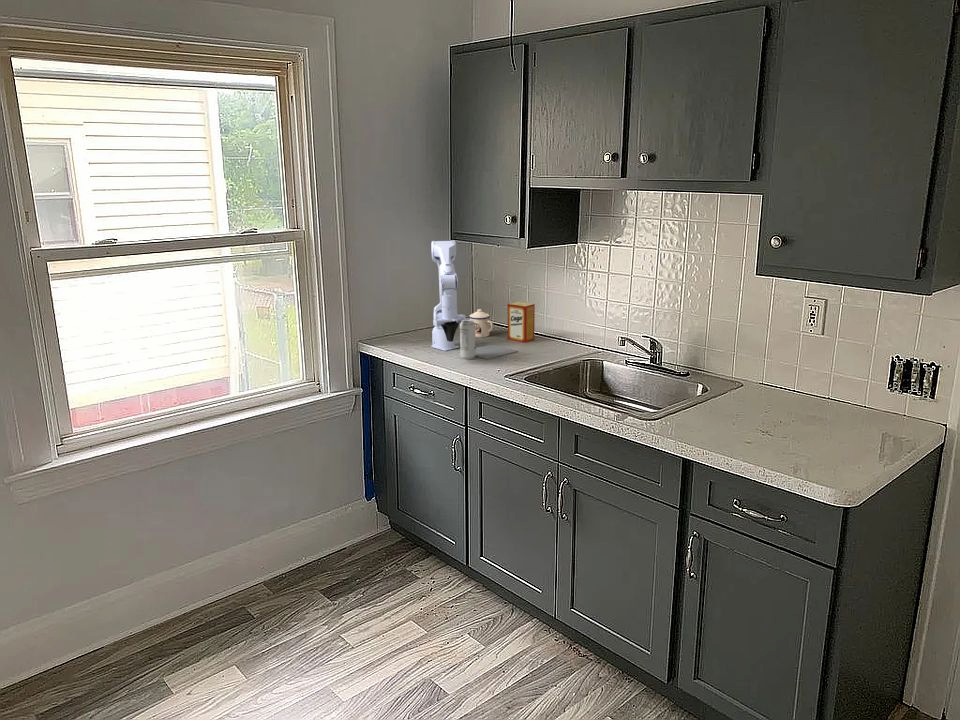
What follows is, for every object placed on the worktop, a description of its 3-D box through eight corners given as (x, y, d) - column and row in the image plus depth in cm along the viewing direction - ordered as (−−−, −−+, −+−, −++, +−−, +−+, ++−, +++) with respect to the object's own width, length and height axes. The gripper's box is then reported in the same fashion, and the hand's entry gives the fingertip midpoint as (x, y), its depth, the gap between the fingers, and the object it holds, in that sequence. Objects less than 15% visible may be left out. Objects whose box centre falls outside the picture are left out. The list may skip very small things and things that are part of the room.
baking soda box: (507, 339, 321) (507, 303, 316) (516, 336, 326) (516, 300, 321) (525, 342, 315) (525, 305, 311) (534, 339, 320) (534, 303, 315)
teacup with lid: (465, 335, 328) (464, 309, 325) (478, 331, 335) (478, 306, 332) (486, 339, 321) (486, 313, 318) (499, 335, 327) (499, 309, 324)
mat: (462, 352, 300) (462, 351, 300) (492, 345, 311) (492, 344, 311) (487, 359, 289) (487, 358, 289) (518, 351, 300) (518, 350, 300)
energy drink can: (478, 358, 291) (477, 321, 287) (465, 360, 289) (464, 323, 285) (470, 355, 296) (470, 318, 292) (457, 357, 294) (456, 320, 290)
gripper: (441, 310, 273) (442, 346, 277) (470, 305, 283) (471, 339, 286) (429, 307, 278) (430, 343, 282) (458, 302, 288) (459, 336, 291)
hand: (450, 341), depth 284 cm, fingers closed
